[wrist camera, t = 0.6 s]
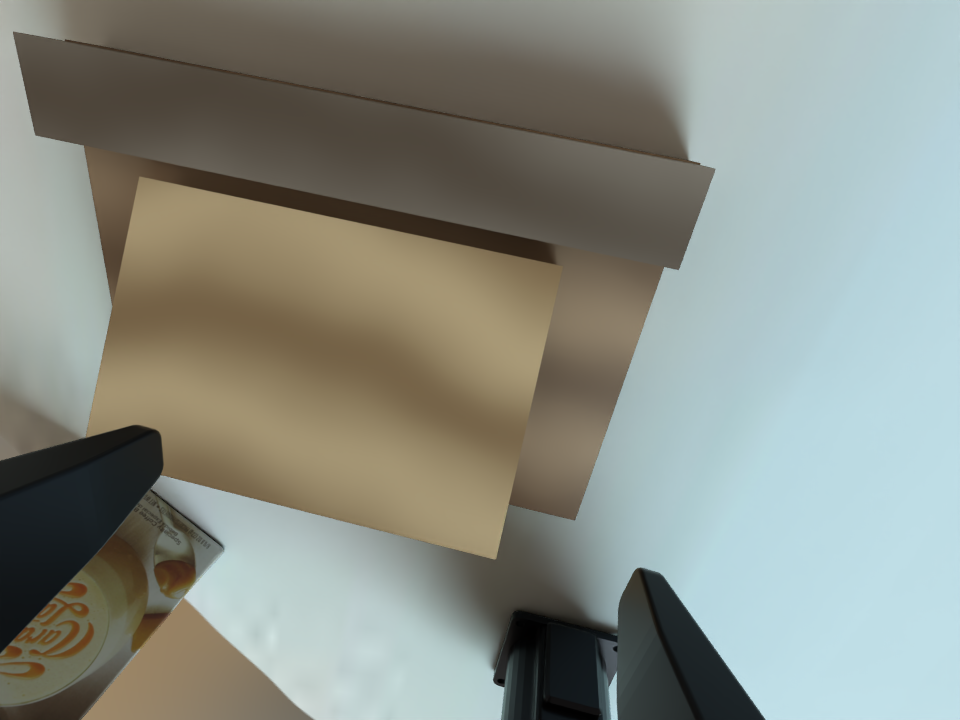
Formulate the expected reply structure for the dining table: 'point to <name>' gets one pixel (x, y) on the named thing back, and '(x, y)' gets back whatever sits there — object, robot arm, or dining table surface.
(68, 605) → the coffee box
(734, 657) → the dining table surface
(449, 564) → the dining table surface
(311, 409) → the tan rectangular panel
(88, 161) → the floor board
